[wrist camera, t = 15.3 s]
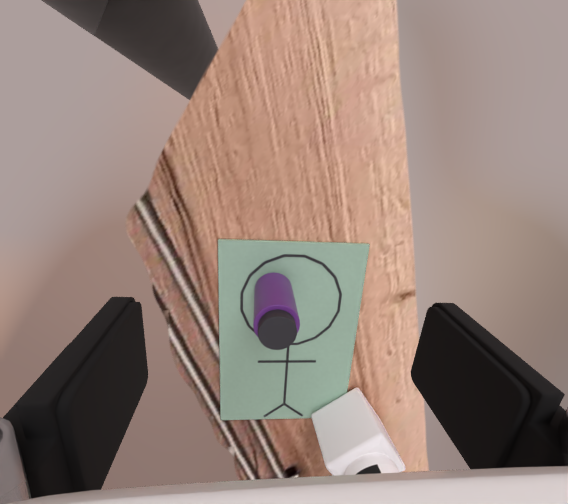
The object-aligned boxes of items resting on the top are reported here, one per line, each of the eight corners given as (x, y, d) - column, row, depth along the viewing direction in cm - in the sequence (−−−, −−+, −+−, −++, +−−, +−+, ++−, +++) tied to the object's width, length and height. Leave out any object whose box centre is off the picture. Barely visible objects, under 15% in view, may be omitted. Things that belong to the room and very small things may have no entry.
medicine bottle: (334, 444, 42) (372, 554, 30) (309, 413, 39) (340, 521, 28) (379, 417, 41) (433, 519, 30) (357, 384, 39) (407, 482, 28)
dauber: (247, 291, 33) (243, 341, 25) (267, 262, 32) (270, 303, 24) (278, 308, 34) (284, 361, 26) (298, 280, 33) (311, 326, 25)
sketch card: (218, 238, 31) (217, 240, 31) (368, 243, 33) (370, 244, 32) (220, 417, 39) (220, 420, 39) (342, 415, 41) (343, 417, 40)
